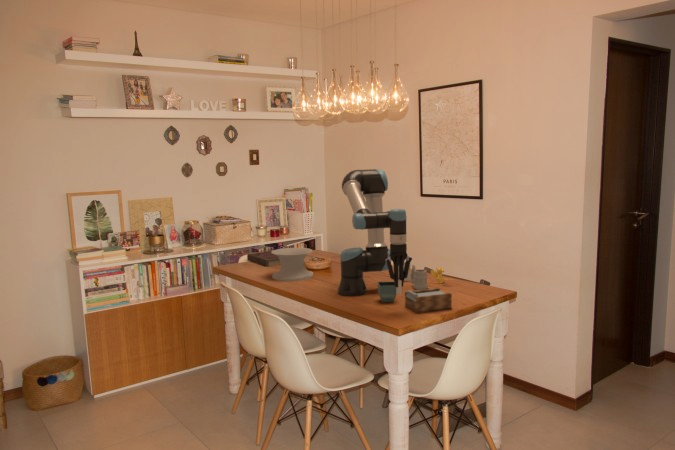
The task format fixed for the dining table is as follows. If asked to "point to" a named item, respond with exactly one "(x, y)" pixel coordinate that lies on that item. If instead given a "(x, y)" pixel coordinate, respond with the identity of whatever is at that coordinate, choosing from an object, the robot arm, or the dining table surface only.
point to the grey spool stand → (292, 264)
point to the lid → (422, 294)
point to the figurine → (438, 275)
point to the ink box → (408, 273)
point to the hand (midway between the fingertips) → (398, 293)
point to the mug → (419, 278)
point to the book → (264, 258)
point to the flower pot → (387, 291)
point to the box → (429, 302)
